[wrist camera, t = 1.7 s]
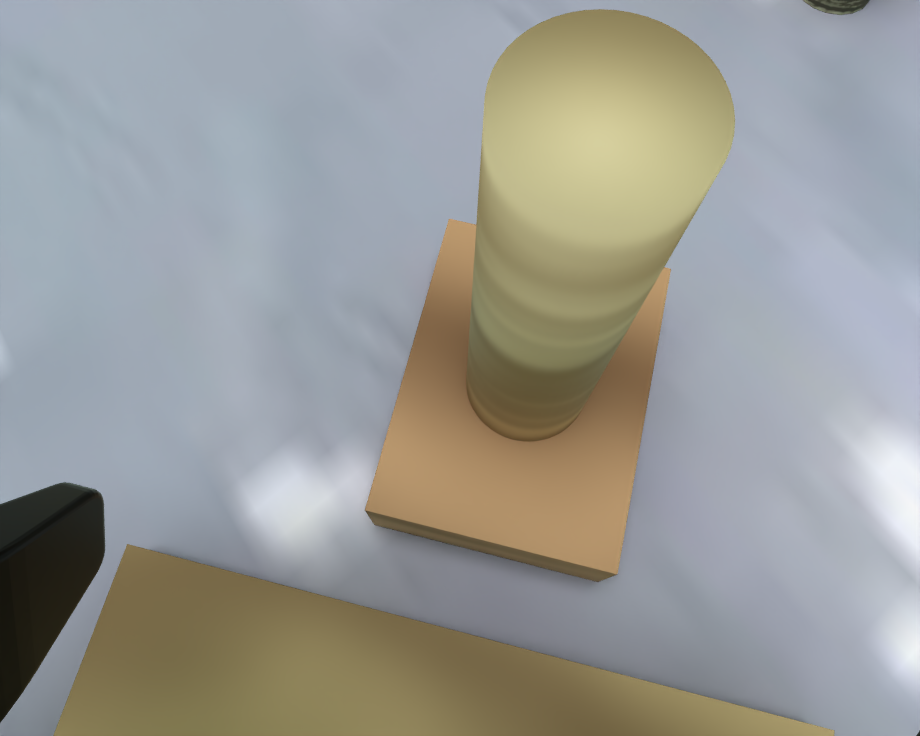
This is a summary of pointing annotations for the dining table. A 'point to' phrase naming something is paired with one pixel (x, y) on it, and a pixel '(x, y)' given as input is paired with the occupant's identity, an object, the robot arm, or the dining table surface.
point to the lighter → (837, 5)
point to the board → (344, 671)
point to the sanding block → (555, 295)
